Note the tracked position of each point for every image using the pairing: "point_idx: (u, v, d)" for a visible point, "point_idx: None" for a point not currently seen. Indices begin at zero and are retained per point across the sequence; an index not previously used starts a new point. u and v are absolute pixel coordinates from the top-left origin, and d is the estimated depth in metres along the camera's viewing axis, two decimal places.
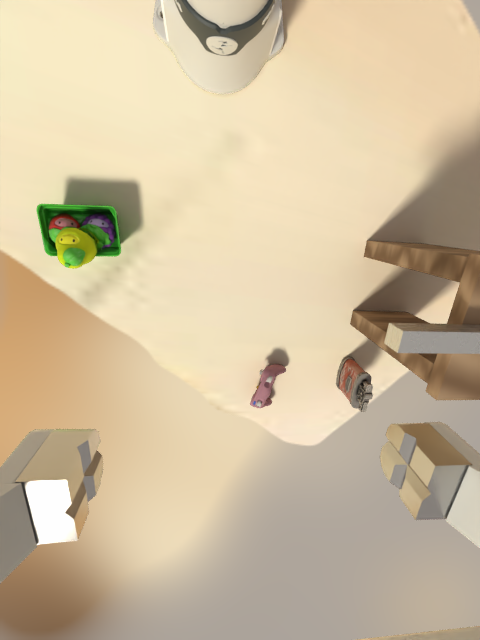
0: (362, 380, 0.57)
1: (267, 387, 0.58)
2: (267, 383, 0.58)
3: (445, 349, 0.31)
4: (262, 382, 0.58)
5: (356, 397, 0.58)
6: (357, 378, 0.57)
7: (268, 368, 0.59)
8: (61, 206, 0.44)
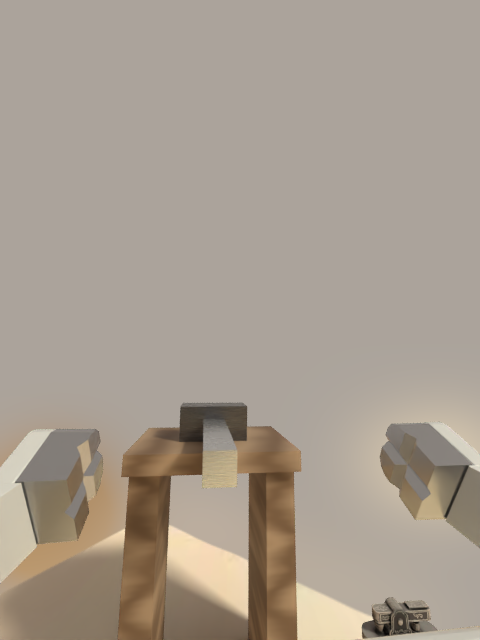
0: (379, 635, 0.30)
1: None
2: None
3: (226, 434, 0.27)
4: None
5: None
6: None
7: None
8: None
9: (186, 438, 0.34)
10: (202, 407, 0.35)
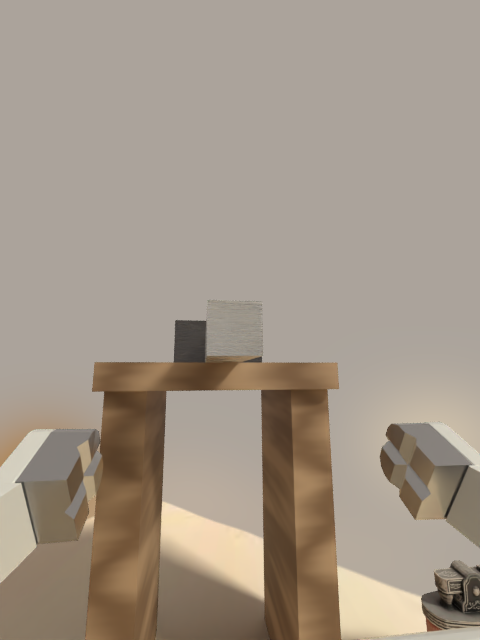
0: (448, 610, 0.22)
1: None
2: None
3: None
4: None
5: None
6: (455, 623, 0.21)
7: None
8: None
9: (183, 360, 0.26)
10: (203, 322, 0.27)
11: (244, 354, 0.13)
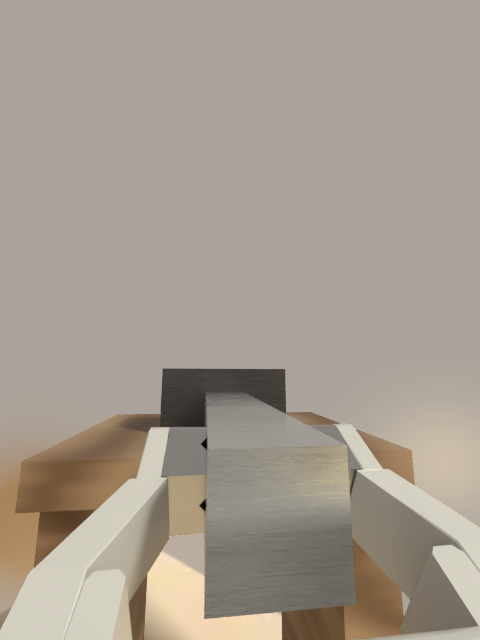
0: None
1: None
2: None
3: (263, 408, 0.11)
4: None
5: None
6: None
7: None
8: None
9: None
10: (203, 370, 0.19)
11: (307, 605, 0.05)
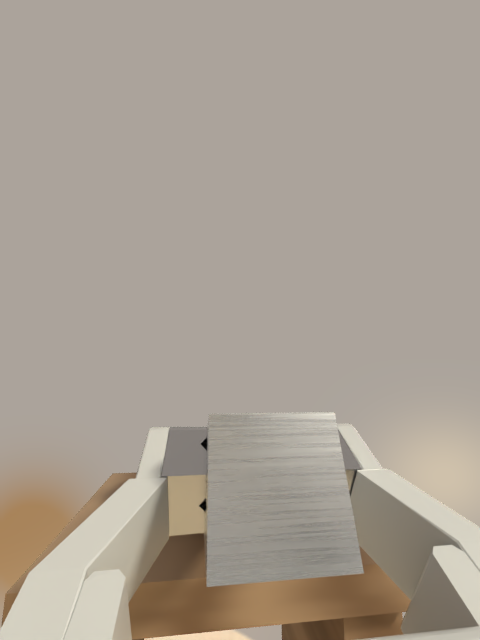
0: None
1: None
2: None
3: None
4: None
5: None
6: None
7: None
8: None
9: None
10: None
11: (313, 572, 0.05)
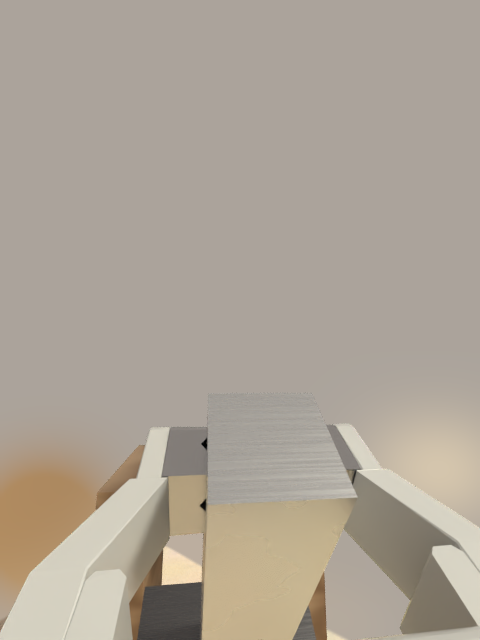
0: None
1: None
2: None
3: None
4: None
5: None
6: None
7: None
8: None
9: None
10: (197, 585, 0.15)
11: (308, 495, 0.05)
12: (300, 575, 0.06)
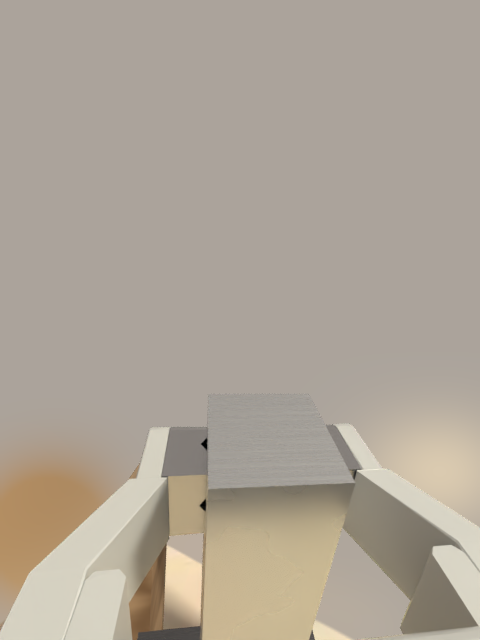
0: None
1: None
2: None
3: None
4: None
5: None
6: None
7: None
8: None
9: None
10: (196, 630, 0.13)
11: (307, 480, 0.05)
12: (303, 581, 0.06)
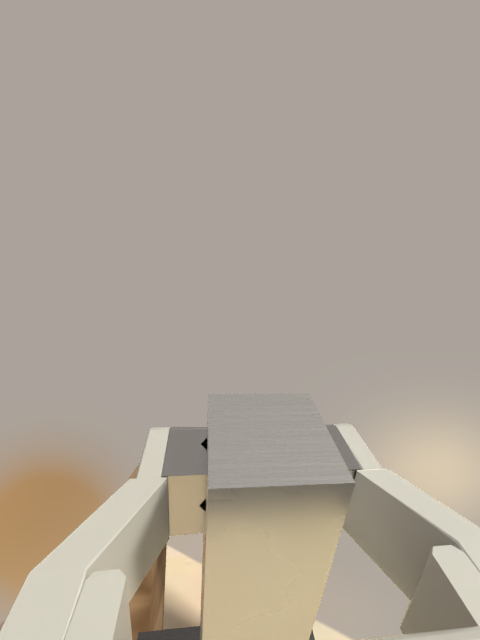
0: None
1: None
2: None
3: None
4: None
5: None
6: None
7: None
8: None
9: None
10: (196, 630, 0.13)
11: (307, 480, 0.05)
12: (303, 581, 0.06)
